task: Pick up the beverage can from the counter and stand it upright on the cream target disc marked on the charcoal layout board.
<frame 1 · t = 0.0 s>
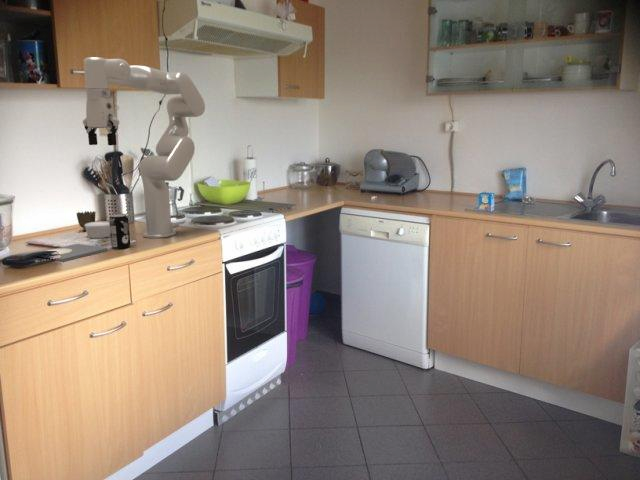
hand: (102, 145, 199), 37 cm above the countertop, tool pointing down, fingers open, 9 cm apart
ramekin: (100, 236, 226), on the countertop
layout board: (70, 253, 196), on the countertop
beverage can: (121, 248, 205), on the countertop
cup: (87, 231, 237), on the countertop
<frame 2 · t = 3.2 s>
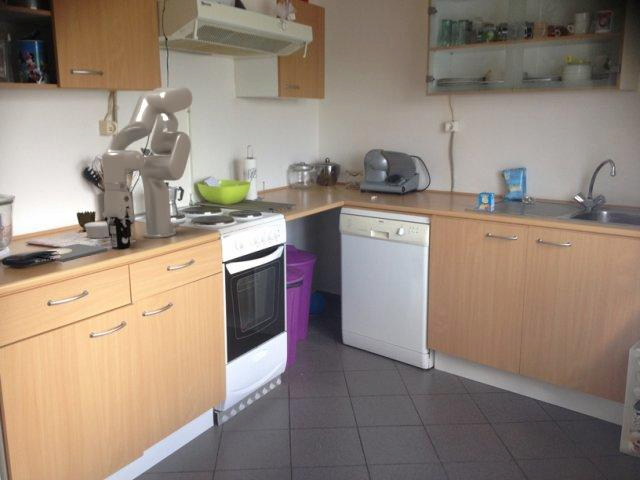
hand: (120, 236, 204), 4 cm above the countertop, tool pointing down, fingers closed on beverage can, 6 cm apart
beverage can: (121, 248, 205), on the countertop, touching gripper
everything else where it was.
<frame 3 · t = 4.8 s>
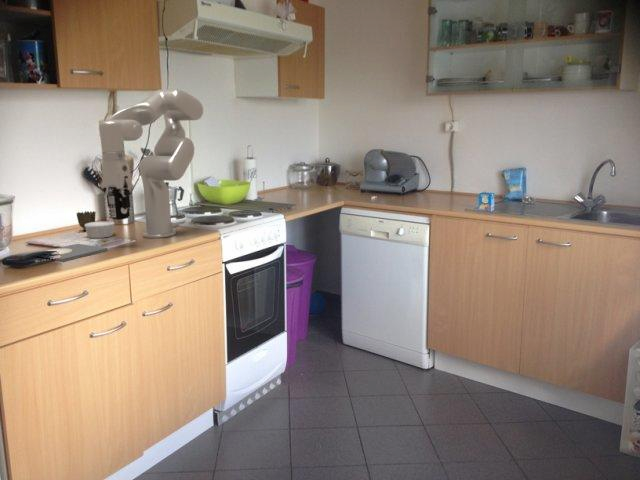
hand: (119, 206, 203), 15 cm above the countertop, tool pointing down, fingers closed on beverage can, 6 cm apart
beverage can: (120, 218, 204), point 10 cm above the countertop, touching gripper
everything else where it was.
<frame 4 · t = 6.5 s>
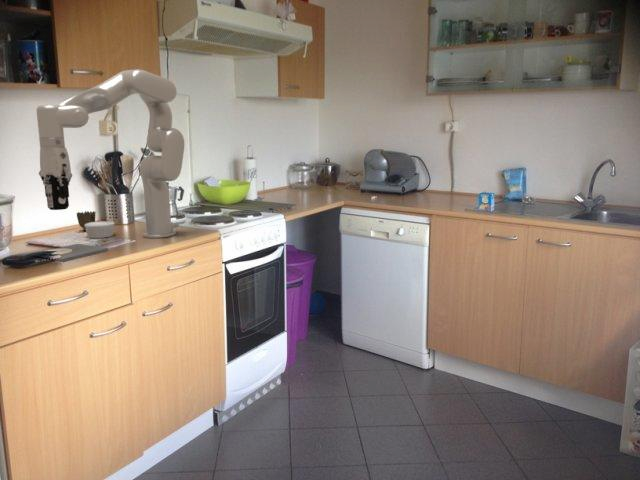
hand: (57, 196, 191), 20 cm above the countertop, tool pointing down, fingers closed on beverage can, 6 cm apart
beverage can: (58, 209, 192), point 16 cm above the countertop, touching gripper
everything else where it was.
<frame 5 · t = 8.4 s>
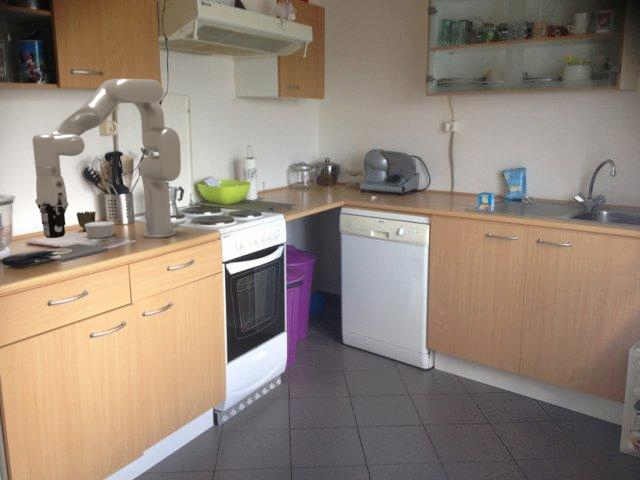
hand: (53, 224, 192), 11 cm above the countertop, tool pointing down, fingers closed on beverage can, 6 cm apart
beverage can: (55, 237, 193), point 6 cm above the countertop, touching gripper
everything else where it was.
when the fingers open (6 cm above the countertop, at t = 9.7 s): beverage can drops 1 cm, resting on layout board.
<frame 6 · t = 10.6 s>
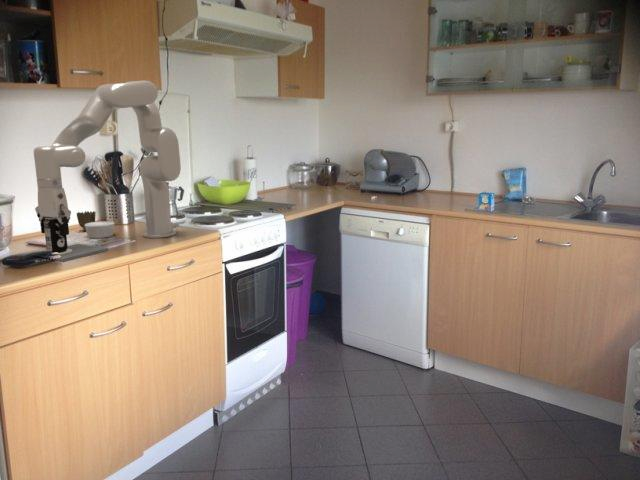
hand: (55, 233, 193), 7 cm above the countertop, tool pointing down, fingers open, 9 cm apart
beverage can: (57, 251, 194), point 1 cm above the countertop, touching layout board
everything else where it was.
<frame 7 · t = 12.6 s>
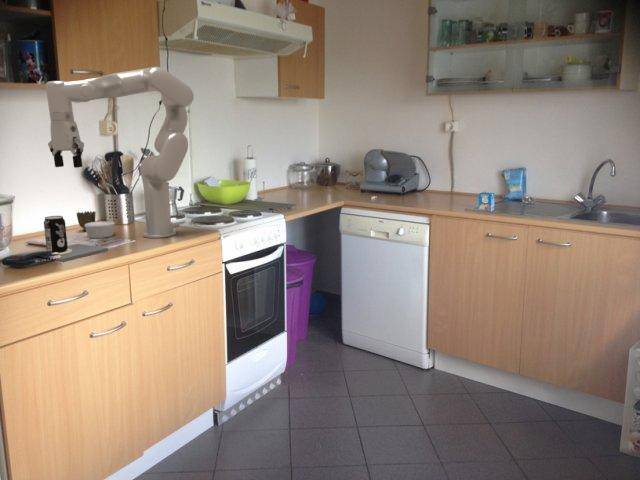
hand: (68, 167, 201), 29 cm above the countertop, tool pointing down, fingers open, 9 cm apart
nothing on the countertop moved.
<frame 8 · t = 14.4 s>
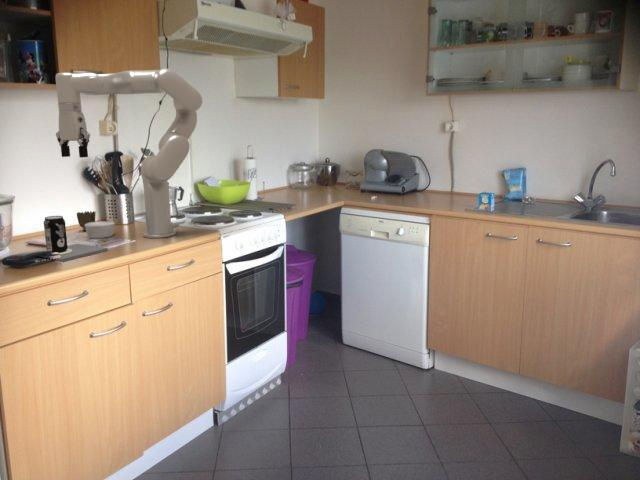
hand: (74, 156, 205), 32 cm above the countertop, tool pointing down, fingers open, 9 cm apart
nothing on the countertop moved.
at the end: beverage can 0.2 cm from the target spot on the layout board, point 1.0 cm above the layout board's base; beverage can tilted 0°; the gripper is holding nothing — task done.
